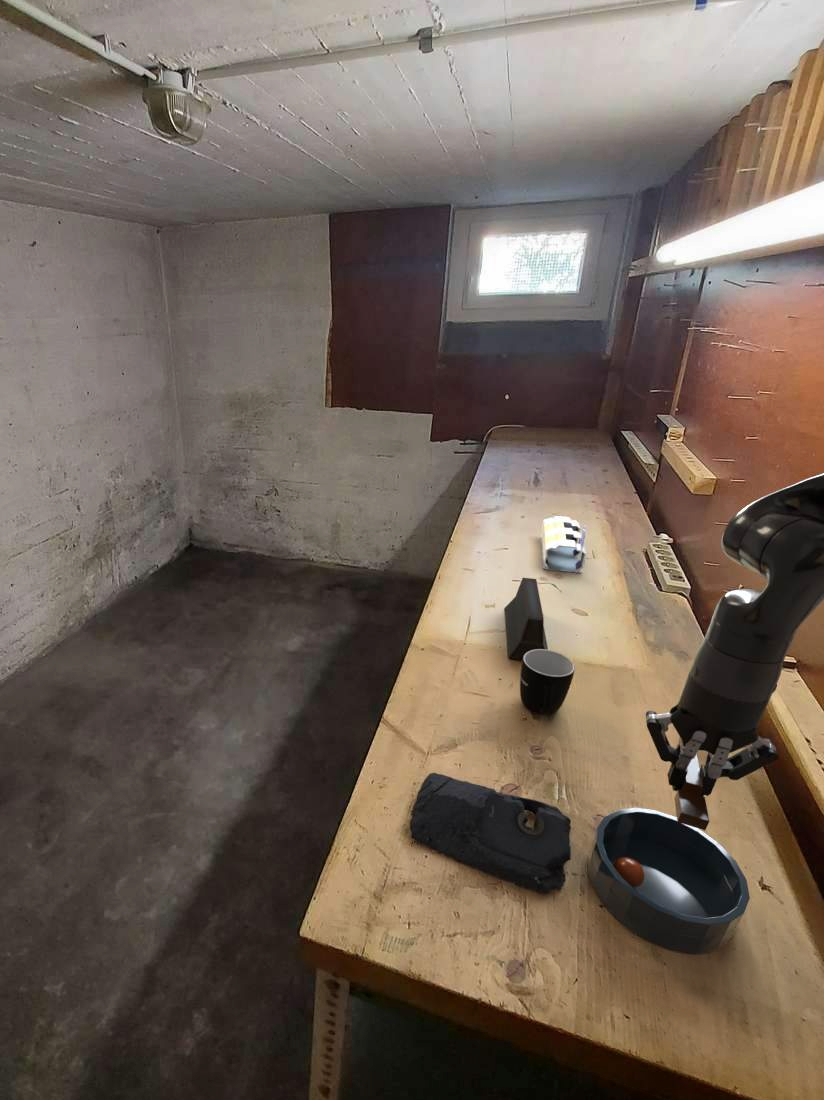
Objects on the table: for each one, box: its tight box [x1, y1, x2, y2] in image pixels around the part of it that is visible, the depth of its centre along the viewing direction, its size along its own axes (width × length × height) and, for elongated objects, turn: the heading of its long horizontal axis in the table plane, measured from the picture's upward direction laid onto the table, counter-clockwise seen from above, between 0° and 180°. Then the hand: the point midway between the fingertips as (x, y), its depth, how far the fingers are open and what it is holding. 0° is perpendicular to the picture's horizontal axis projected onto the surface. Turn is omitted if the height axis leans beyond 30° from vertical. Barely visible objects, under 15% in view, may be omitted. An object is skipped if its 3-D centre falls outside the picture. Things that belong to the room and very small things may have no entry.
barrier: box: [503, 577, 549, 661], centre depth 130 cm, size 24×9×10 cm, turn 162°
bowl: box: [587, 807, 751, 955], centre depth 74 cm, size 17×17×6 cm
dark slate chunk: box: [409, 772, 572, 894], centre depth 84 cm, size 15×22×5 cm
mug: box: [519, 649, 576, 716], centre depth 106 cm, size 12×9×10 cm
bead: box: [613, 857, 644, 888], centre depth 75 cm, size 4×4×4 cm
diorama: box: [540, 515, 587, 574], centre depth 169 cm, size 25×10×13 cm, turn 159°
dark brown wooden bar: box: [674, 753, 710, 831], centre depth 71 cm, size 12×3×3 cm, turn 152°
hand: (686, 789), depth 71 cm, fingers closed on dark brown wooden bar, 2 cm apart
